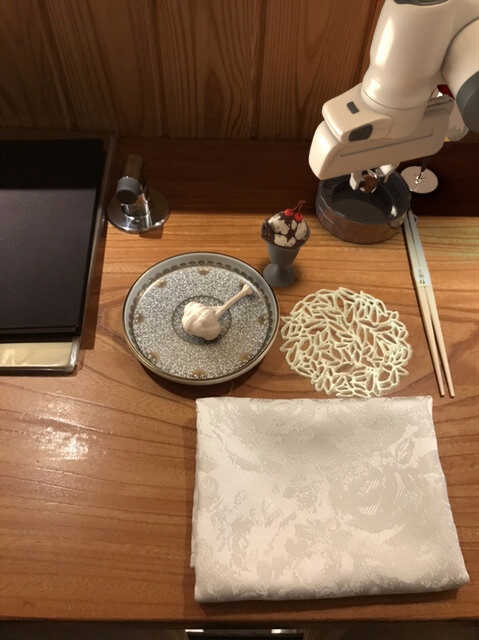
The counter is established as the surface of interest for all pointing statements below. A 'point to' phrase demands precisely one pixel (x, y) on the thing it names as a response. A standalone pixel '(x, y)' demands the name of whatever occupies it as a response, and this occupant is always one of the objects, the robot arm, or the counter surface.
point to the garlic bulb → (208, 316)
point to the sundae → (283, 245)
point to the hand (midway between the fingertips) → (367, 183)
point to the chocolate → (369, 182)
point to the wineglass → (424, 178)
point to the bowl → (363, 208)
